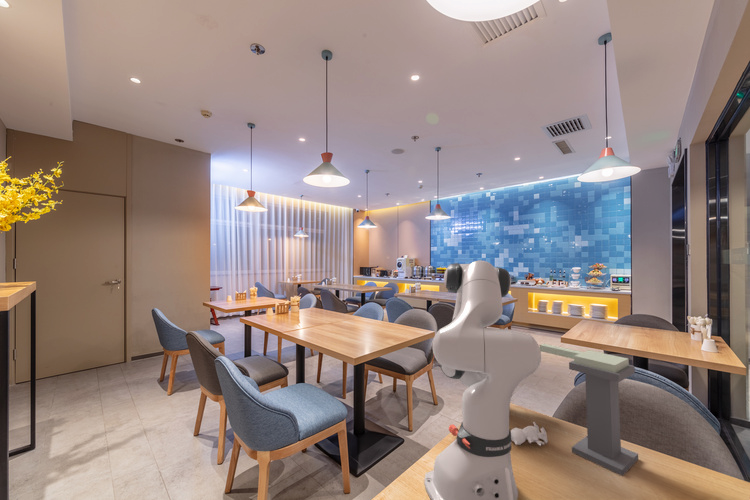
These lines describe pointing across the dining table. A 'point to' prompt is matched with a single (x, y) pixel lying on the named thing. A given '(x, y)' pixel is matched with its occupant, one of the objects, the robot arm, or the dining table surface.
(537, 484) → the dining table surface
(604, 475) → the dining table surface
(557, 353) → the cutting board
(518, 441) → the toy figure
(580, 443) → the stand
